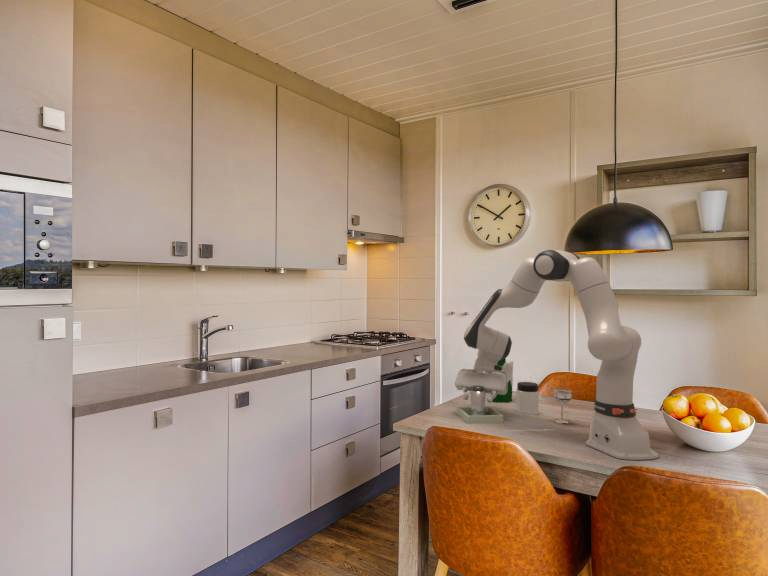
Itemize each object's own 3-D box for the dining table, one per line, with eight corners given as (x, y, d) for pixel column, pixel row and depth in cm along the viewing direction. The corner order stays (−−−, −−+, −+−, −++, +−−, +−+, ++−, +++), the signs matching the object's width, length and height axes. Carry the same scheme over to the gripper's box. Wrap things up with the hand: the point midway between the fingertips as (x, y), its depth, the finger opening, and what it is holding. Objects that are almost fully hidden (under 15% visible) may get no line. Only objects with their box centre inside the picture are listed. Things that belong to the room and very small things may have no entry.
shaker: (486, 421, 195) (487, 387, 195) (472, 421, 195) (473, 388, 195) (482, 417, 201) (482, 385, 201) (468, 417, 200) (469, 385, 200)
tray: (503, 424, 194) (503, 415, 194) (467, 425, 192) (467, 416, 192) (490, 414, 208) (491, 406, 208) (456, 415, 206) (456, 407, 206)
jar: (527, 416, 206) (528, 386, 206) (511, 412, 213) (512, 383, 213) (542, 413, 211) (543, 384, 211) (526, 409, 218) (527, 381, 218)
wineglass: (557, 418, 204) (557, 388, 204) (574, 422, 199) (574, 390, 199) (549, 421, 199) (550, 390, 199) (566, 425, 194) (567, 393, 194)
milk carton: (488, 401, 231) (489, 356, 231) (495, 398, 239) (496, 354, 238) (507, 404, 226) (508, 358, 226) (514, 400, 234) (515, 356, 234)
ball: (489, 415, 203) (490, 408, 203) (482, 416, 203) (482, 408, 203) (487, 414, 206) (487, 406, 206) (480, 414, 206) (480, 406, 206)
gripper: (457, 363, 208) (449, 392, 200) (509, 368, 199) (502, 398, 191) (461, 373, 212) (452, 401, 204) (511, 377, 203) (505, 408, 195)
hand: (477, 400), depth 197 cm, fingers open, 8 cm apart
